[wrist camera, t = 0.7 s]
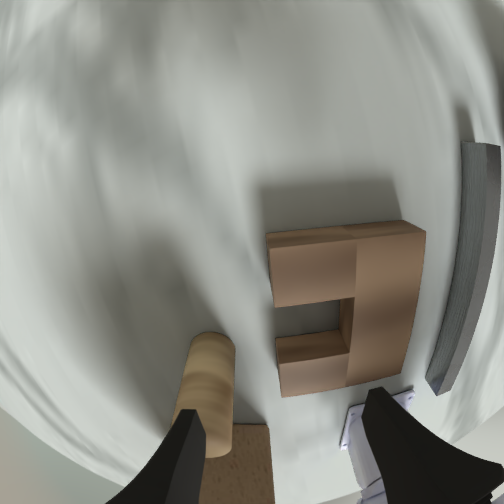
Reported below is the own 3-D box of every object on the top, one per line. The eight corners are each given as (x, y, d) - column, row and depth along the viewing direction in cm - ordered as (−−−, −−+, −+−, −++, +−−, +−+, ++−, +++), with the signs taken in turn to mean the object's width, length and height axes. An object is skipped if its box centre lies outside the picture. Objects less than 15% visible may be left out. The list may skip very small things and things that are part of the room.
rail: (438, 373, 24) (450, 390, 21) (424, 378, 24) (436, 396, 21) (475, 143, 16) (500, 146, 13) (461, 141, 16) (486, 143, 13)
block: (387, 352, 22) (400, 373, 19) (278, 371, 22) (281, 397, 19) (403, 220, 18) (426, 231, 15) (265, 233, 18) (269, 248, 15)
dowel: (238, 364, 22) (236, 457, 13) (195, 367, 22) (178, 456, 13) (231, 330, 21) (225, 427, 12) (185, 333, 21) (159, 426, 12)
